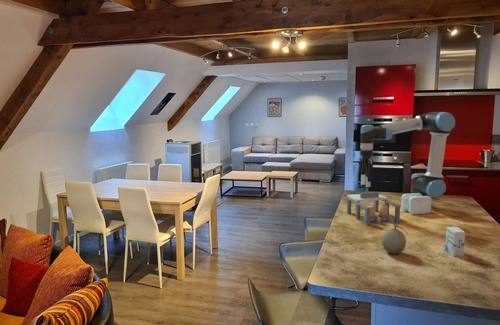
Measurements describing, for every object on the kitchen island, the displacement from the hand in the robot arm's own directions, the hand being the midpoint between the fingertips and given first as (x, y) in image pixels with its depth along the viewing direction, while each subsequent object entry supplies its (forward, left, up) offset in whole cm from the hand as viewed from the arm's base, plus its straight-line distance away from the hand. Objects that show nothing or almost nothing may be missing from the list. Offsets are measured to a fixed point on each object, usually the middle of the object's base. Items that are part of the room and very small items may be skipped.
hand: (365, 185), depth 247 cm
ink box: (-9, +71, -19) cm, 74 cm away
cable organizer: (-34, +3, -19) cm, 39 cm away
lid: (0, +2, -8) cm, 8 cm away
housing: (0, +9, -19) cm, 21 cm away
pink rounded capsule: (-4, +16, -18) cm, 25 cm away
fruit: (+17, +65, -19) cm, 70 cm away
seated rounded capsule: (+4, +16, -18) cm, 25 cm away
